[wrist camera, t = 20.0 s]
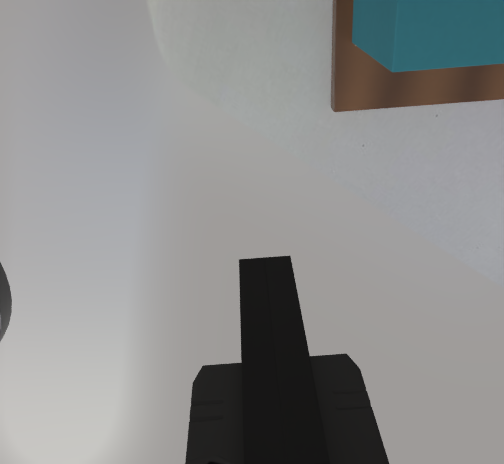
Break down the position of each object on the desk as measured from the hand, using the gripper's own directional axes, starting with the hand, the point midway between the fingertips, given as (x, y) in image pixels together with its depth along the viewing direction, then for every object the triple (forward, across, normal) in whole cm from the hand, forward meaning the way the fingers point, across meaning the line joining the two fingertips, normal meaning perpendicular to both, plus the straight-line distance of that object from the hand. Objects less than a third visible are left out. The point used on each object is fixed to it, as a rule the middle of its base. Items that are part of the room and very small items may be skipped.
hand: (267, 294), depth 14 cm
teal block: (+21, +11, +6) cm, 25 cm away
